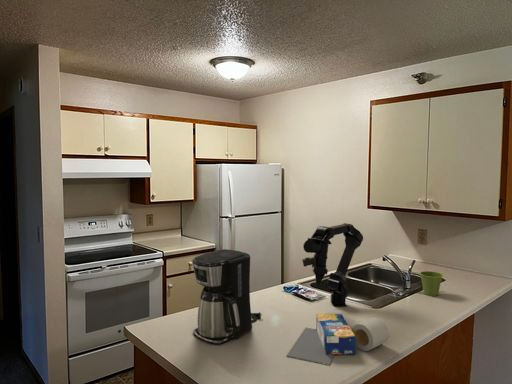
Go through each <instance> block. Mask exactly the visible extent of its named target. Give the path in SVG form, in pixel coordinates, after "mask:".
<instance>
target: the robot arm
mask: <svg viewBox="0 0 512 384" xmlns="http://www.w3.org/2000/svg"><path fill="white" fill-rule="evenodd" d="M337 235H343V236H344V243H345V248H344V250H343V253H342V255H341V257H340V260H339V263H338V265H337V268H336V270H335V271H334V272H331V273H329V277H328V279H327V287H328V291H329V292H331V294H330V304H331V305H332V306H333V307H347V304H346V298H347V297H346V296H347V295H348V294H349V292H350V288H349V287H348V286H347V278H346V275H347V272H348V270H349V267H350V264H351V261H352V259H353V257H354V254H355V251H356V250H357V249H358V248H360V246H361V245H362V242H363V240H364V236H363V234H362V232H361V231H360V230H358V229H357V228H356V227H355V226H354V224H351V223H342V224H338V225H331V226H320V225H319V226H317V227H316V229H315V231H314V232H313V234H312V235H311V237H307V240H305V241H304V243H303V251H304V252H305V253H308V254H310V253H311V254H313V253H314V254H313V256H312V257H311V256H310V257H309V256H308V257H305V258H302V259H301V260H302V265H303V267H308V266H311V270H312V272H313V273H314V276H315V277H314V278H315V286H316V287H319V285H320V284H321V282H322V280H323V279H324V278H325V275H328V268H327V259H328V252H329V246H330V245H332V241H330V240H331V239H333V238H334V237H335V236H337Z"/></svg>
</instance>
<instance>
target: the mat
mask: <svg viewBox="0 0 512 384" xmlns="http://www.w3.org/2000/svg"><path fill="white" fill-rule="evenodd" d="M287 356H288V358H291V357H293V358H292V359H296V358H299V359H298V360H301V359H304V360H303V361H306V360H309V361H308V362H311V361H315V362H314V363H316V362H320V363H325V364H329V365H328V366H331V364H330V363H332V361H333V358H334V357H335V354H326V353H325V351H324V348H323V345H322V343H321V340H320V337H319V335H318V332H317V329H316V328H310V327H305V328H304V329H303V330H302V332H301V334H300V335H299V336H298V338H297V339H296V341H295V342H294V344H293V345H292V346H291V348H290V349H289V351H288V353H287V354H286V357H287ZM333 356H334V357H333ZM320 363H319V364H320ZM325 364H324V365H325Z"/></svg>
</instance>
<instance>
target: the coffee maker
mask: <svg viewBox="0 0 512 384" xmlns="http://www.w3.org/2000/svg"><path fill="white" fill-rule="evenodd" d="M192 267H193V270H194V271H193V272H194V276H195V280H196V283H197V284H198V285H201V286H202V287H203V288H202V290H201V293H200V296H199V301H198V307H197V308H198V309H197V310H198V311H197V327H196V328H193V331H192V333H193V334H194V335H195V336H196V337H197V338H198V339H200V341H202V342H206V343H209V344H213V345H221V344H224V343H227V342H229V341H231V340H233V339H234V340H238V339H239V338H240V337H242V336H243V335H245V334H246V333H248V332H249V331H250V330H251V329H252V327H253V323H254V322H257V319H259V320H260V319H261V318H262V316H263V314H262V313H261V312H257V313H256V312H252V311H251V310H252V309H251V295H250V292H251V291H250V290H251V287H250V280H251V275H250V274H251V255H250V254H249V253H247V252H244V251H243V252H242V251H239V250H234V249H225V248H224V249H219V250H218V249H217V250H213V251H210V252H209V251H208V252H205V253H202V254H201V255H197V256H195V257H194V258H192ZM252 318H253V319H252Z"/></svg>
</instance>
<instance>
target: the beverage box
mask: <svg viewBox="0 0 512 384" xmlns="http://www.w3.org/2000/svg"><path fill="white" fill-rule="evenodd" d="M315 316H316V318H315V321H316V323H315V324H316V328H315V329H317V332H318V335H319V337H320V340H321V343H322V345H323V348H324V351H325V353H326V354H334V355H356V345H355V335H354V333H353V332H352V328H351V327H350V325H349V323H348V322H347V321H346V319H345V317H344V316H343V314H342V313H316V315H315Z"/></svg>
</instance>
